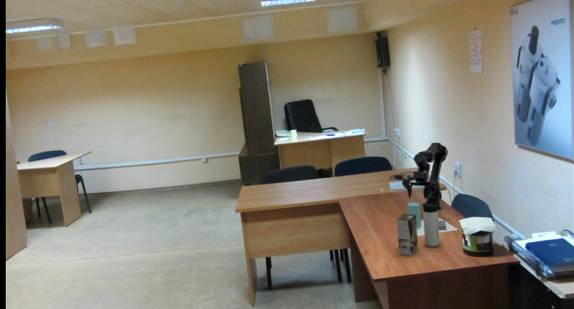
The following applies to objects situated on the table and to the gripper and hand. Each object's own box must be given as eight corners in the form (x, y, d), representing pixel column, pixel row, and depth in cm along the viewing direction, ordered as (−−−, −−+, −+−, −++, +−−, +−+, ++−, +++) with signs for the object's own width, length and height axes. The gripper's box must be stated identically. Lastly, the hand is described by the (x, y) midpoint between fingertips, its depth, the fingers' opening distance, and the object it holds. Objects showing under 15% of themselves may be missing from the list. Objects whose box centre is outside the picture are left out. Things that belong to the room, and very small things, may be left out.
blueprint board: (439, 218, 245) (439, 217, 245) (458, 231, 225) (458, 229, 225) (397, 225, 242) (397, 223, 242) (413, 238, 222) (413, 236, 222)
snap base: (428, 224, 236) (428, 220, 235) (445, 224, 234) (444, 220, 233) (429, 230, 228) (428, 226, 228) (446, 230, 226) (446, 226, 226)
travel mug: (422, 243, 215) (419, 202, 211) (436, 241, 215) (433, 200, 212) (427, 248, 209) (425, 206, 205) (441, 246, 209) (439, 204, 206)
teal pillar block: (411, 224, 238) (410, 202, 236) (421, 225, 235) (420, 203, 233) (408, 228, 234) (407, 205, 232) (418, 229, 231) (417, 206, 229)
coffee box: (412, 255, 203) (410, 220, 200) (398, 254, 207) (396, 219, 204) (418, 248, 211) (416, 214, 208) (404, 246, 214) (402, 213, 211)
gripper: (401, 164, 245) (396, 190, 238) (437, 165, 235) (432, 192, 228) (407, 174, 253) (402, 200, 246) (442, 176, 243) (437, 202, 236)
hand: (418, 198), depth 239 cm, fingers open, 9 cm apart
